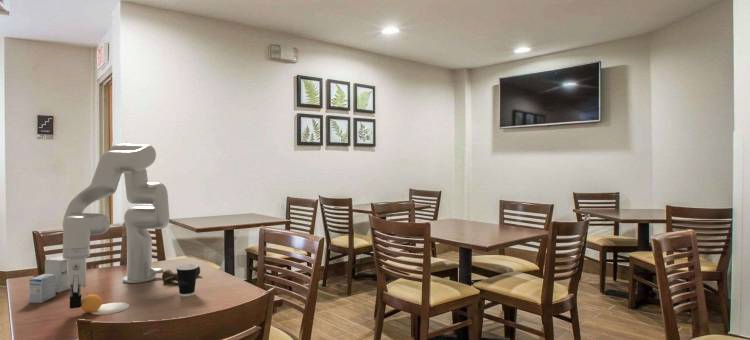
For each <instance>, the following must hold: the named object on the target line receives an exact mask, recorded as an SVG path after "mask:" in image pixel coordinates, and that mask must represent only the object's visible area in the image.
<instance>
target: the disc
mask: <svg viewBox="0 0 750 340" xmlns="http://www.w3.org/2000/svg"><path fill="white" fill-rule="evenodd" d="M129 308H130V304H128V303H126V302H109V303H102V304H101V307H100V308H99V309H98V310H97V311H95V312H91V313H90V314H92V315H98V316H99V315H104V316H105V315H111V314H116V313H120V312H123V311H125V310H127V309H129Z"/></svg>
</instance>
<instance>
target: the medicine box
mask: <svg viewBox="0 0 750 340" xmlns="http://www.w3.org/2000/svg"><path fill="white" fill-rule="evenodd" d="M55 279H56V275H55V274H45V273H43V274H40V275H37V276H35V277H33V278H30V279H29V298H28V299H29V304H42V303H45V301H48V300H50V299H52V298H54V297H56V292H55V282H56V281H55Z"/></svg>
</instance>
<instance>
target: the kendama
mask: <svg viewBox="0 0 750 340" xmlns="http://www.w3.org/2000/svg"><path fill="white" fill-rule="evenodd" d="M161 274H162V275H161V279H162V283H165V284H167V282H168V283H170V282H177V283H178V276H177V272H173V271H172V270H170V269H166V270H164V272H163V273H161ZM200 274H201V267H200V266H199V265H198V267H197V275H198V276H199V275H200Z"/></svg>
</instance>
